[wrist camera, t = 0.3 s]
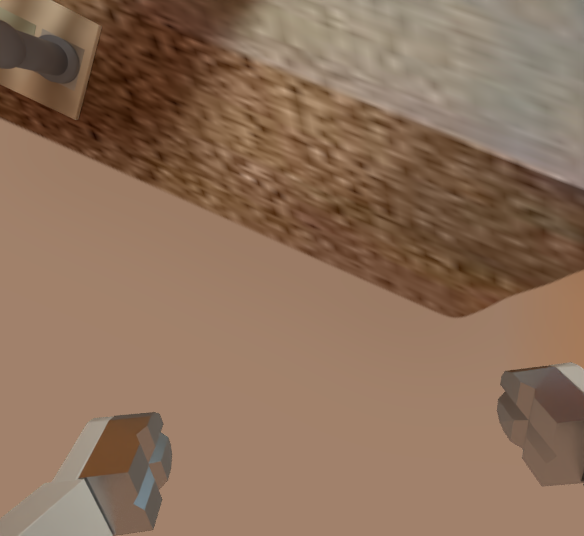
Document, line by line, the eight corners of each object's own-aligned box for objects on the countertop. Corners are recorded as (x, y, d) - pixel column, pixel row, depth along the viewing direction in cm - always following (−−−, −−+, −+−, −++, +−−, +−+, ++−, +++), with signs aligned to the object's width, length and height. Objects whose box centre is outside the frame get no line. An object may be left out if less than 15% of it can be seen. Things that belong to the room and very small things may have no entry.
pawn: (31, 39, 46) (-57, 10, 34) (72, 34, 45) (-3, 3, 34) (45, 85, 48) (-33, 73, 36) (85, 81, 47) (18, 66, 36)
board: (102, 26, 46) (98, 24, 45) (78, 119, 50) (74, 119, 49) (-59, -57, 43) (-66, -61, 42) (-71, 49, 47) (-77, 48, 46)
